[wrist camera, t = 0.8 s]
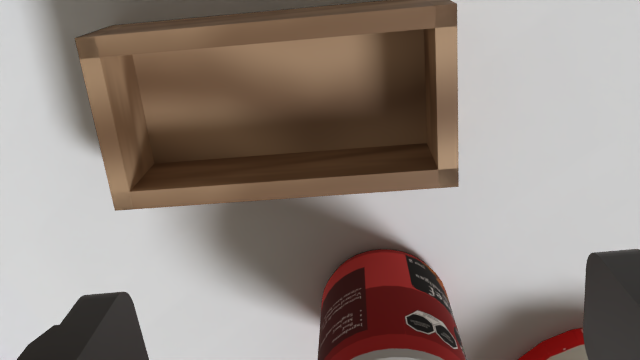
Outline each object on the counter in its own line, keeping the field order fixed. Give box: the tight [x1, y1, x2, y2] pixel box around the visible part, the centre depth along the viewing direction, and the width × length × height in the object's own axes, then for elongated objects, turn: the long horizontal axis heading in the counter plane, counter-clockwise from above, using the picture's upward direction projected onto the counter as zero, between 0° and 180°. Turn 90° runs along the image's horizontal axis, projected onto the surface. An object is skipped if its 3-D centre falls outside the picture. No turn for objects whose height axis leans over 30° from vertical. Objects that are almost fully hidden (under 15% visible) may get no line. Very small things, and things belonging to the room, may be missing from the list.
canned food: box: [318, 249, 467, 360], centre depth 34 cm, size 8×8×11 cm
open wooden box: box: [75, 0, 458, 210], centre depth 32 cm, size 9×18×5 cm, turn 95°
